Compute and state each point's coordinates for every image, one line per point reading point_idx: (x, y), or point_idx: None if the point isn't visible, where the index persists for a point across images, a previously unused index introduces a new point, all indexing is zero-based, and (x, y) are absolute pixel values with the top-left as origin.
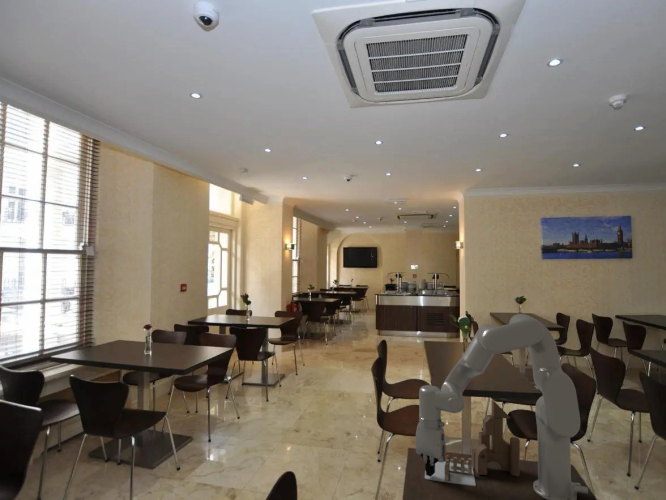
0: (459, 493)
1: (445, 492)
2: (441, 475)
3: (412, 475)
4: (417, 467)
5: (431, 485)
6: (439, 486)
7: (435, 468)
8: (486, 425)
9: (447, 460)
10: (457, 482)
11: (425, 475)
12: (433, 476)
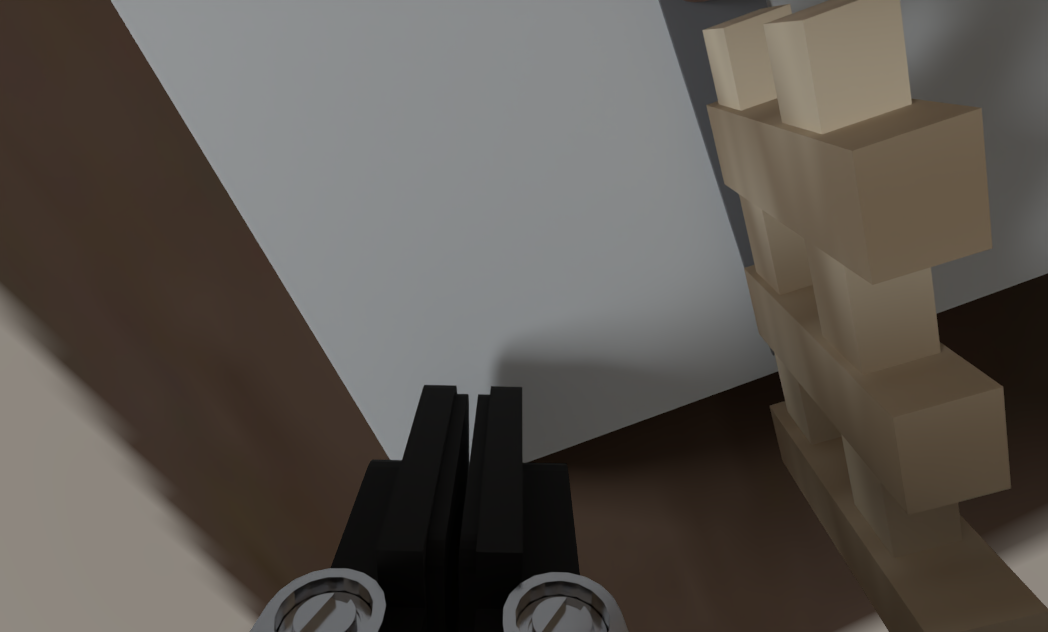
0: (1037, 516)
1: (829, 603)
2: (630, 231)
3: (200, 509)
4: (69, 215)
5: (587, 571)
6: (704, 528)
7: (397, 25)
8: None
9: (938, 221)
10: (987, 274)
11: (380, 423)
12: (513, 364)
